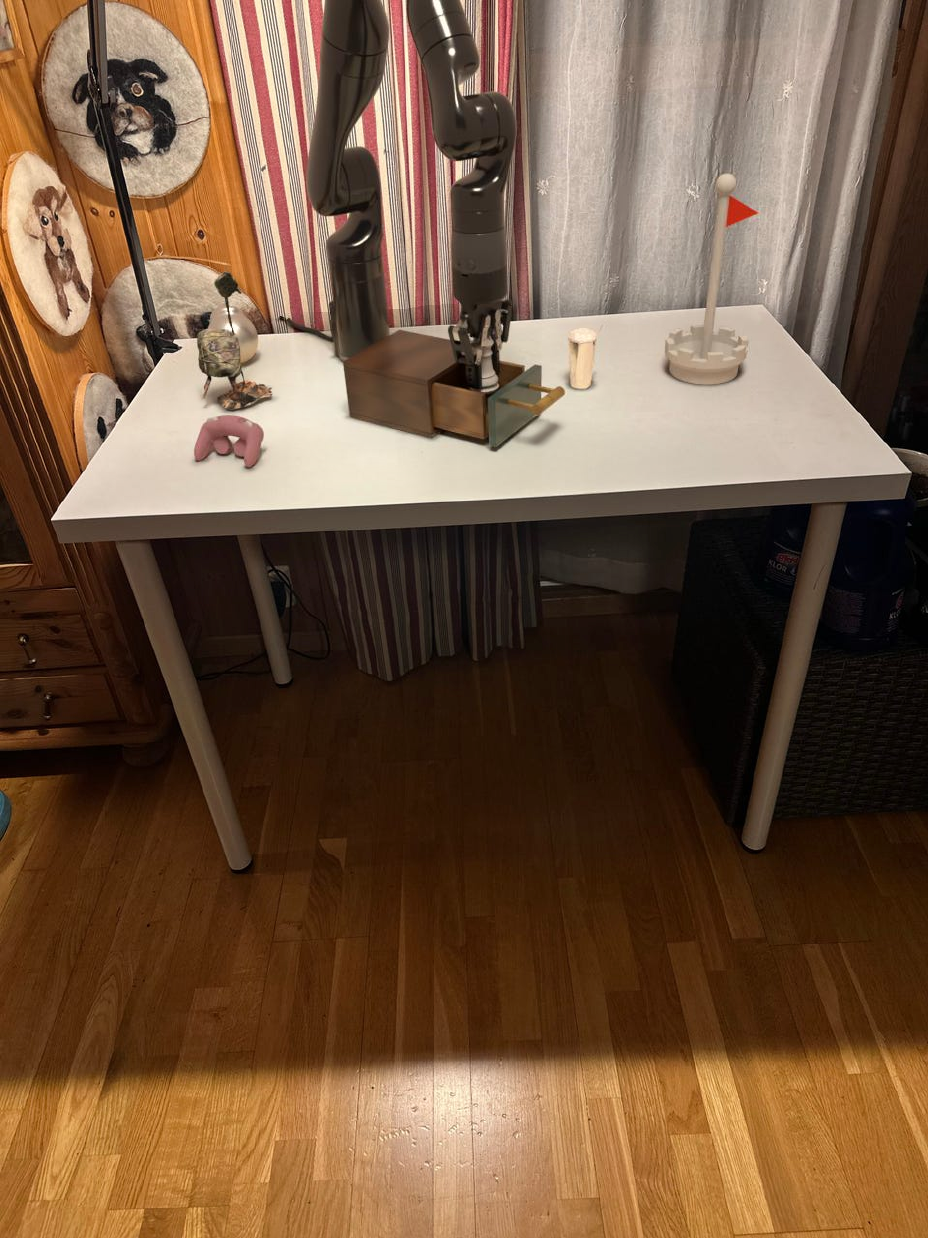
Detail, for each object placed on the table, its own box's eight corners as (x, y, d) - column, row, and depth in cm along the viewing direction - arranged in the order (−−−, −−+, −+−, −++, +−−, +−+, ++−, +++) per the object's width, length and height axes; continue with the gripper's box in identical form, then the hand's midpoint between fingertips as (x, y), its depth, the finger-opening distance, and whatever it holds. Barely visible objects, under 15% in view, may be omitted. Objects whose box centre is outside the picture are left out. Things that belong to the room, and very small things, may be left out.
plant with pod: (202, 396, 153) (173, 274, 141) (270, 385, 155) (247, 263, 143) (206, 416, 147) (176, 290, 135) (277, 404, 149) (254, 279, 137)
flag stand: (655, 381, 150) (672, 182, 131) (672, 351, 159) (690, 161, 141) (737, 391, 146) (767, 186, 127) (749, 360, 155) (779, 165, 137)
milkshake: (598, 391, 148) (601, 330, 142) (565, 389, 149) (566, 329, 143) (600, 379, 151) (603, 319, 145) (568, 378, 152) (569, 318, 146)
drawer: (574, 418, 138) (575, 372, 134) (530, 455, 130) (530, 407, 125) (462, 392, 148) (459, 348, 143) (413, 426, 139) (409, 380, 134)
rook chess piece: (503, 384, 137) (502, 332, 132) (491, 396, 134) (490, 343, 129) (476, 380, 139) (474, 328, 134) (464, 392, 136) (461, 339, 131)
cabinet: (483, 401, 147) (481, 345, 141) (431, 438, 137) (427, 380, 132) (404, 382, 154) (399, 329, 148) (349, 417, 144) (342, 361, 139)
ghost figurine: (266, 350, 168) (256, 295, 162) (258, 371, 161) (247, 314, 154) (216, 353, 168) (204, 298, 162) (206, 373, 161) (193, 317, 154)
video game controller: (266, 467, 136) (269, 419, 134) (249, 468, 131) (252, 418, 130) (208, 459, 138) (210, 412, 137) (190, 460, 134) (192, 411, 133)
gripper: (483, 244, 131) (487, 359, 142) (426, 273, 122) (435, 394, 133) (529, 250, 128) (529, 368, 139) (474, 280, 119) (479, 404, 129)
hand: (483, 380), depth 136 cm, fingers closed on rook chess piece, 4 cm apart
